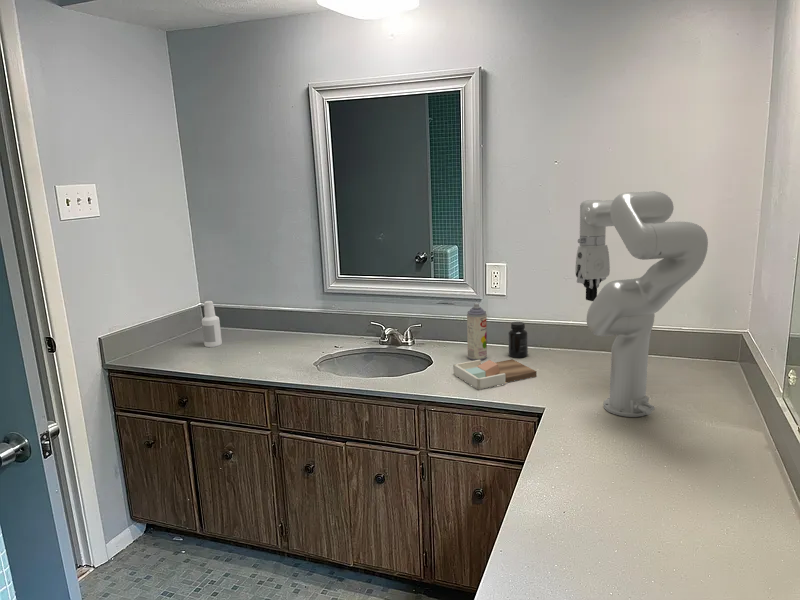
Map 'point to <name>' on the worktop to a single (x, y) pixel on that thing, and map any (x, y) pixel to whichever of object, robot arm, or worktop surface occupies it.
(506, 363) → the walnut board
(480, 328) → the aerosol can
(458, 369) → the box
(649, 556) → the worktop surface
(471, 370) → the teal tile
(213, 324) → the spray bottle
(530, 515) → the worktop surface
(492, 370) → the clay tile
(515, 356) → the supplement bottle
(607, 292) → the robot arm
